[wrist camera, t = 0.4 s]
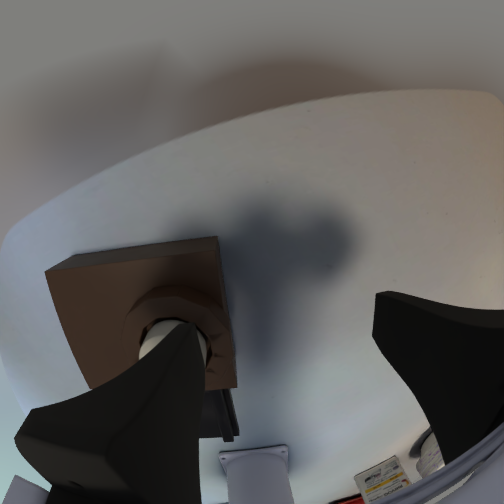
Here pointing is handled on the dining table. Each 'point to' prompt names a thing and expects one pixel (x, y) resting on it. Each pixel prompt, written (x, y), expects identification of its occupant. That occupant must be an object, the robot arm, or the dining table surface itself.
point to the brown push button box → (143, 305)
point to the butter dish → (353, 501)
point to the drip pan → (218, 416)
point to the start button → (160, 332)
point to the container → (382, 480)
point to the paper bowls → (430, 457)
